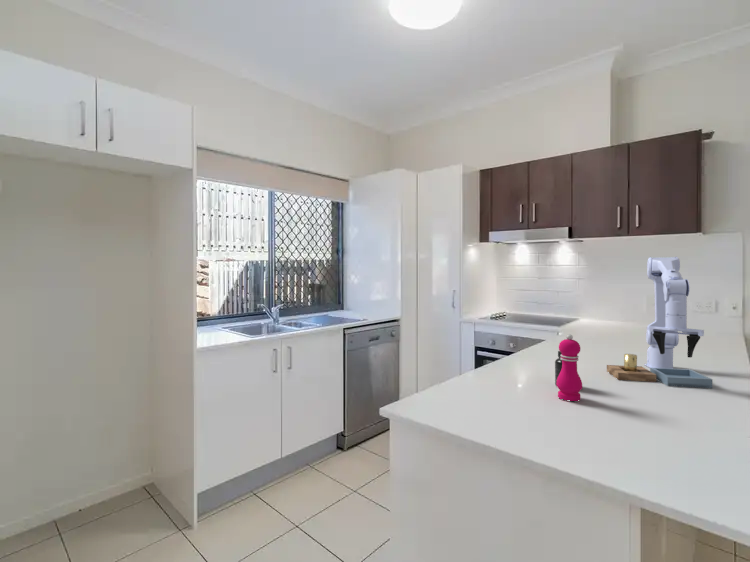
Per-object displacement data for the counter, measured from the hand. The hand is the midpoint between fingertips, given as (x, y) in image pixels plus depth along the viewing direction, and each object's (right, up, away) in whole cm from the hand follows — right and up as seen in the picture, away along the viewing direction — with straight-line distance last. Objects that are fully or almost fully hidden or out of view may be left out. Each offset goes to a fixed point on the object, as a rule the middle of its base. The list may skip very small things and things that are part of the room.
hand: (675, 355), depth 133 cm
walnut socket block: (-7, -10, +13) cm, 18 cm away
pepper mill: (-41, -12, -11) cm, 44 cm away
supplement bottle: (-36, -11, +1) cm, 38 cm away
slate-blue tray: (+6, -10, +6) cm, 13 cm away
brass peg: (-7, -10, +13) cm, 18 cm away
